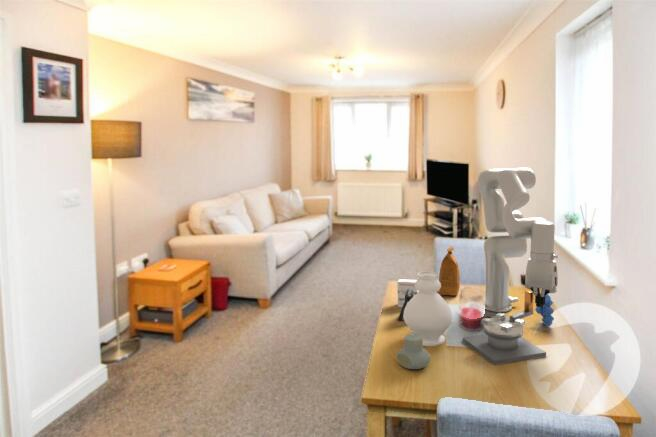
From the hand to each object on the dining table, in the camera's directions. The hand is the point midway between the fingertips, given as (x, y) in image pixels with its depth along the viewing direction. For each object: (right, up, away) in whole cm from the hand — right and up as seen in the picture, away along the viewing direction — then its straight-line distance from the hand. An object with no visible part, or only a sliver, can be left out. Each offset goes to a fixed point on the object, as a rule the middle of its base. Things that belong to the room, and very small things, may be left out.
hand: (539, 306), depth 178 cm
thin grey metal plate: (-14, -14, -3) cm, 21 cm away
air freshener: (-48, -18, -14) cm, 53 cm away
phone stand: (-42, -11, +28) cm, 52 cm away
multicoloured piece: (-11, -8, -1) cm, 13 cm away
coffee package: (-18, -4, +59) cm, 62 cm away
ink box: (-40, -8, +43) cm, 60 cm away
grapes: (+9, -10, +18) cm, 23 cm away
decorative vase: (-39, -14, +7) cm, 42 cm away
